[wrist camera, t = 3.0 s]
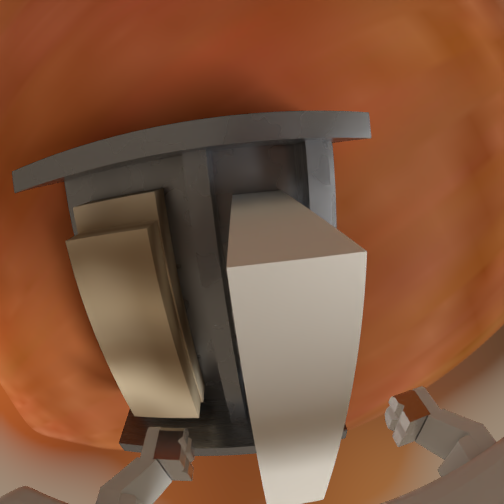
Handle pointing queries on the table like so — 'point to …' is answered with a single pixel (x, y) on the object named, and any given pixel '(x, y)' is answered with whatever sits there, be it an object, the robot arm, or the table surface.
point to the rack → (207, 227)
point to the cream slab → (294, 336)
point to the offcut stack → (137, 302)
